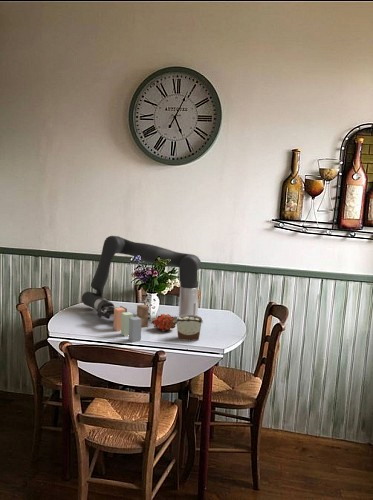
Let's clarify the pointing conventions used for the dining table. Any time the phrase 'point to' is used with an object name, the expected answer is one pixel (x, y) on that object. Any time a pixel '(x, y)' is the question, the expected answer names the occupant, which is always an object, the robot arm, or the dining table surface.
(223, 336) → the dining table surface
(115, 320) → the terracotta block
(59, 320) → the dining table surface
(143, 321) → the walnut block
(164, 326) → the dragon fruit
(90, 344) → the dining table surface
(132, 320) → the slate block
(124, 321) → the sage block
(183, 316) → the food container
